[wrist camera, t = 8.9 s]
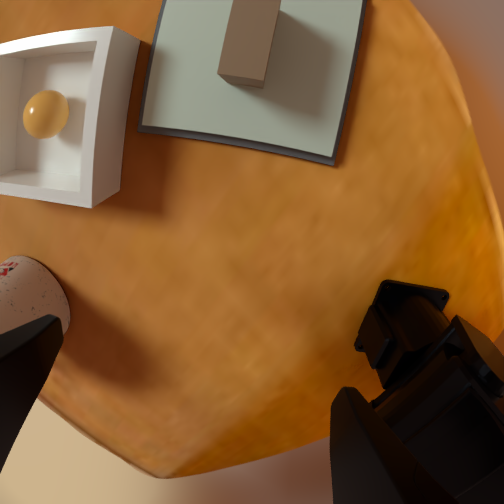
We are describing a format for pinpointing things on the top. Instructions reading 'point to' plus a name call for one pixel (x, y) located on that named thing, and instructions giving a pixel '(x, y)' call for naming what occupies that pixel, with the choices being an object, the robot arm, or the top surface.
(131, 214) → the top surface
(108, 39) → the dish
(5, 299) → the teacup with lid
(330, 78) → the lid
